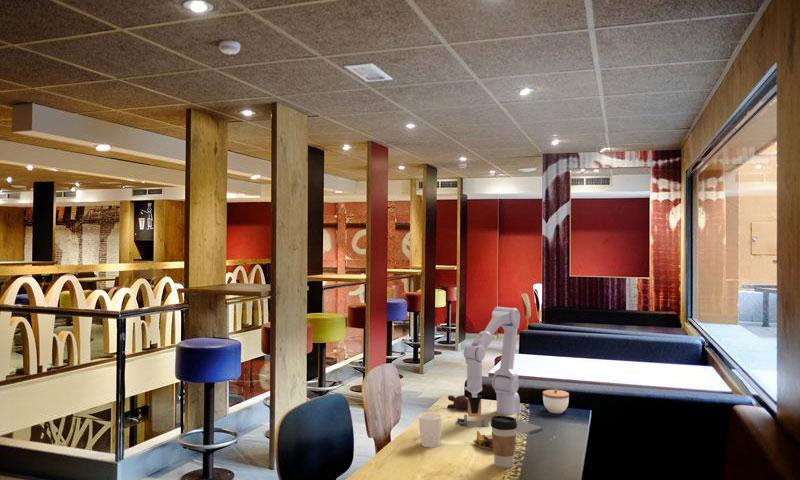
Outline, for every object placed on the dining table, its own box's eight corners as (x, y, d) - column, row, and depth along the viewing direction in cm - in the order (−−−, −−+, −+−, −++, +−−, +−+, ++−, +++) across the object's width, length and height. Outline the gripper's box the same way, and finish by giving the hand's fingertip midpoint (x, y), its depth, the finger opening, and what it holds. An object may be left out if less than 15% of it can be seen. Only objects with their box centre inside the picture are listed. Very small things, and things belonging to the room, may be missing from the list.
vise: (457, 428, 230) (457, 419, 230) (457, 422, 237) (457, 413, 237) (489, 429, 229) (489, 420, 229) (488, 423, 236) (488, 414, 236)
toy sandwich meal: (505, 439, 219) (504, 426, 219) (515, 452, 205) (515, 438, 205) (470, 440, 218) (470, 427, 218) (479, 453, 204) (479, 439, 204)
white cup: (444, 442, 215) (444, 414, 215) (438, 449, 207) (438, 420, 207) (422, 439, 217) (422, 412, 217) (416, 446, 210) (416, 418, 210)
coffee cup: (488, 460, 197) (487, 414, 197) (513, 459, 198) (513, 413, 198) (494, 470, 189) (494, 422, 189) (520, 469, 189) (520, 421, 189)
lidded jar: (542, 414, 249) (542, 391, 249) (542, 407, 259) (542, 385, 259) (569, 415, 246) (569, 392, 246) (568, 408, 257) (568, 386, 257)
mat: (519, 423, 236) (519, 420, 236) (542, 430, 228) (542, 427, 228) (500, 428, 230) (500, 426, 230) (523, 436, 221) (523, 433, 221)
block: (468, 416, 231) (467, 400, 231) (468, 413, 235) (468, 398, 235) (481, 416, 231) (481, 401, 231) (481, 413, 235) (480, 398, 235)
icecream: (483, 396, 252) (452, 394, 261) (474, 395, 247) (443, 393, 256) (482, 413, 251) (451, 410, 260) (473, 413, 245) (442, 410, 254)
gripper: (464, 371, 241) (464, 405, 241) (463, 380, 226) (463, 416, 226) (482, 372, 240) (482, 406, 240) (482, 380, 225) (482, 417, 225)
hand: (474, 411), depth 233 cm, fingers closed on block, 4 cm apart
